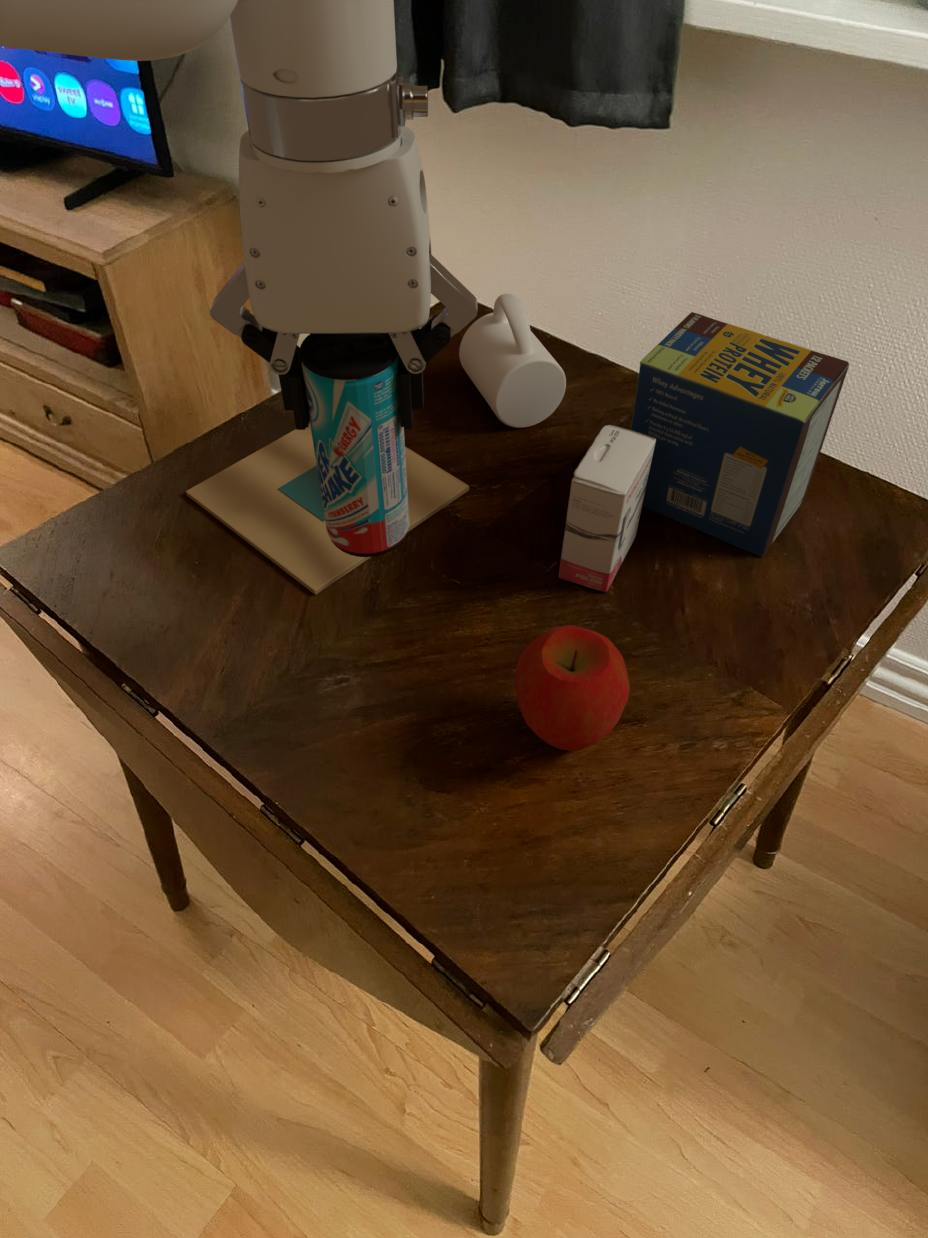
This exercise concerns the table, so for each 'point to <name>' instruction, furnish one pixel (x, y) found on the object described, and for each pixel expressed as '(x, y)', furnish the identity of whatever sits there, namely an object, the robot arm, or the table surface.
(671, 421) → the protein box
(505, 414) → the mug
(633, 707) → the table surface
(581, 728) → the apple
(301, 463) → the cork mat
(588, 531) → the ink box
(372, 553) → the beverage can
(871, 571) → the table surface
